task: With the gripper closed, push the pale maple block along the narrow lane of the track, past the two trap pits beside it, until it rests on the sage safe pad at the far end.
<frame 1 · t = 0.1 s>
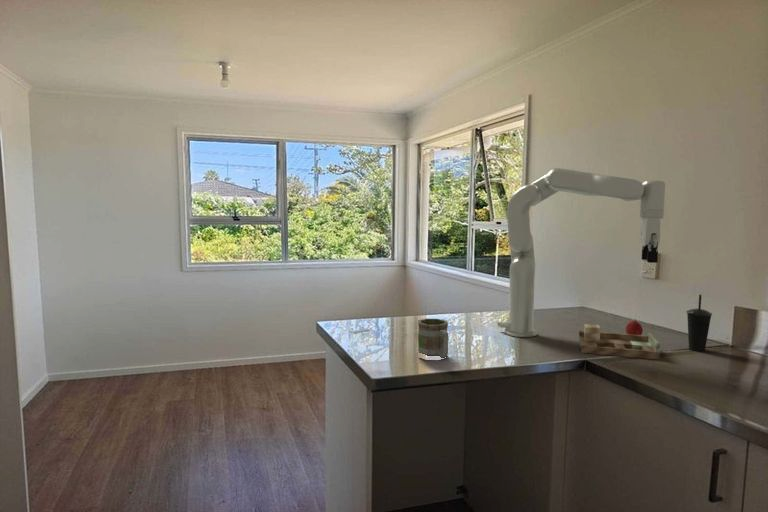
hand: (649, 261, 173), 31 cm above the countertop, tool pointing down, fingers open, 9 cm apart
block: (591, 339, 173), point 2 cm above the countertop, touching track
track: (616, 350, 168), on the countertop
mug: (435, 358, 159), on the countertop
drinking cup: (696, 350, 168), on the countertop
onion: (633, 339, 182), on the countertop
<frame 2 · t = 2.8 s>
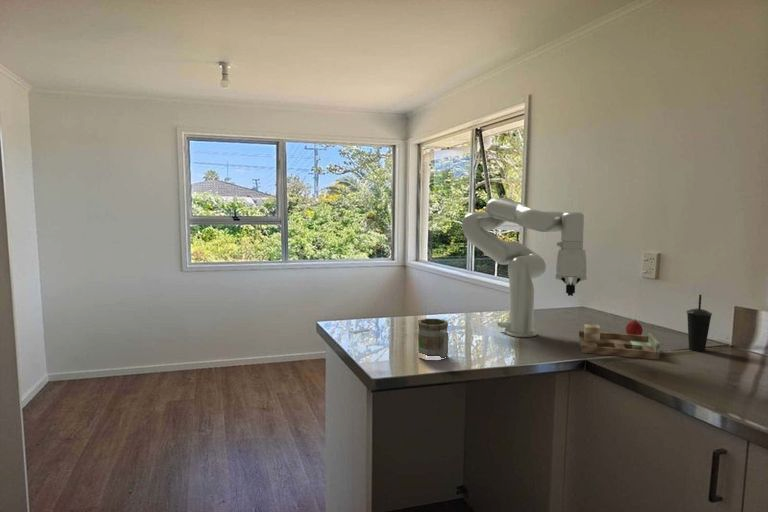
hand: (570, 295, 174), 19 cm above the countertop, tool pointing down, fingers closed
nothing on the countertop moved.
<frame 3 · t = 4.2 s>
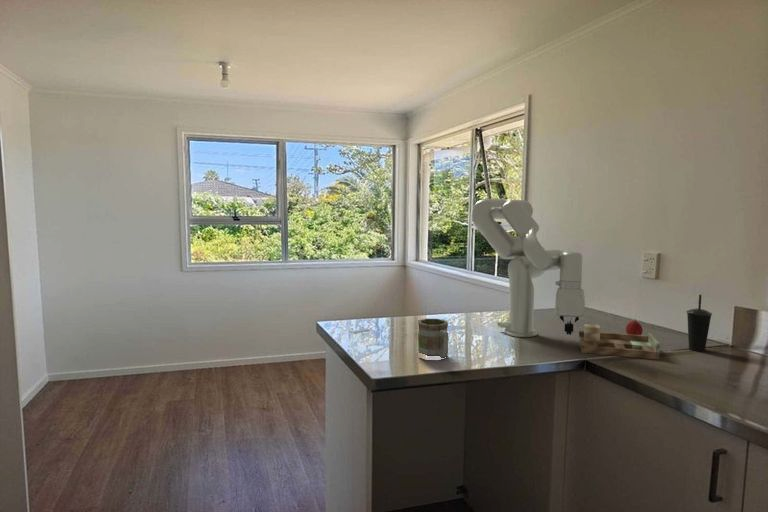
hand: (568, 333, 175), 4 cm above the countertop, tool pointing down, fingers closed
nothing on the countertop moved.
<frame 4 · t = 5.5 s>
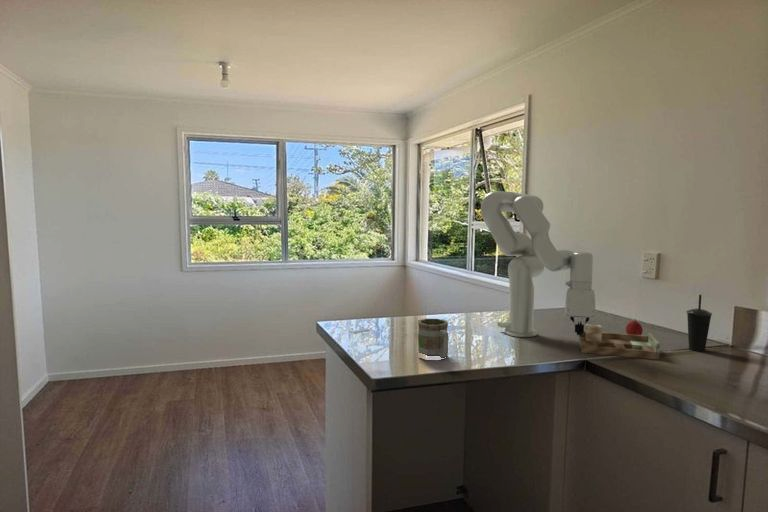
hand: (579, 334, 174), 4 cm above the countertop, tool pointing down, fingers closed
block: (593, 339, 173), point 3 cm above the countertop, touching gripper
everything else where it was.
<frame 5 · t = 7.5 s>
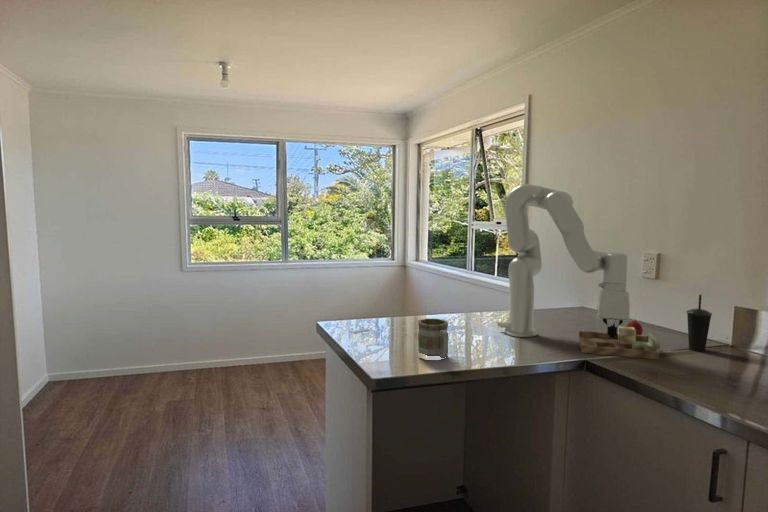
hand: (611, 336, 170), 4 cm above the countertop, tool pointing down, fingers closed
block: (626, 341, 169), point 3 cm above the countertop, touching gripper
everything else where it was.
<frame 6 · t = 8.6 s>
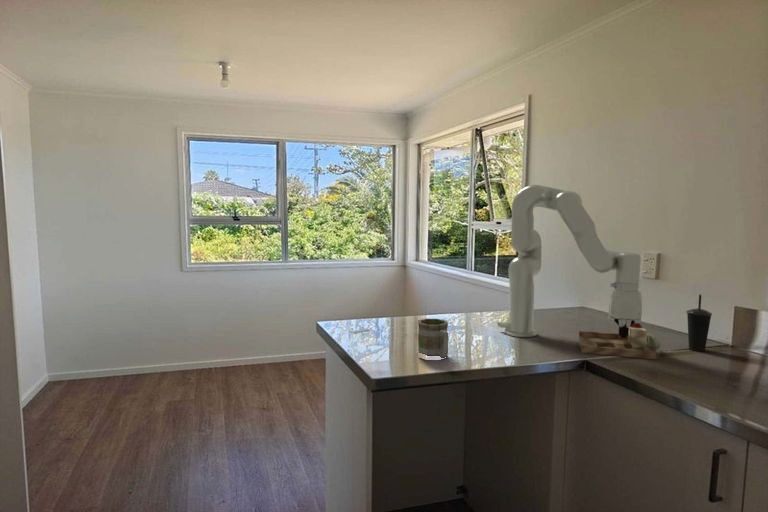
hand: (623, 337, 169), 4 cm above the countertop, tool pointing down, fingers closed
block: (637, 343, 168), point 2 cm above the countertop, touching gripper, track
everything else where it was.
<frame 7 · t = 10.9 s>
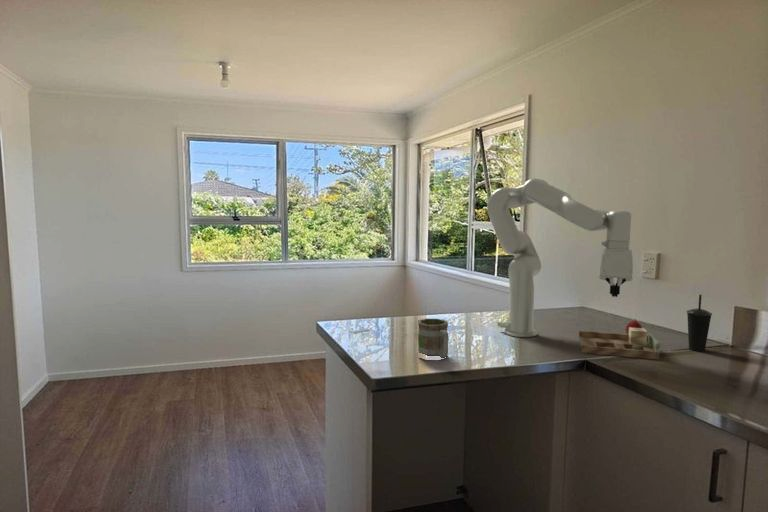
hand: (614, 296, 169), 19 cm above the countertop, tool pointing down, fingers closed
block: (637, 343, 168), point 2 cm above the countertop, touching track
everything else where it was.
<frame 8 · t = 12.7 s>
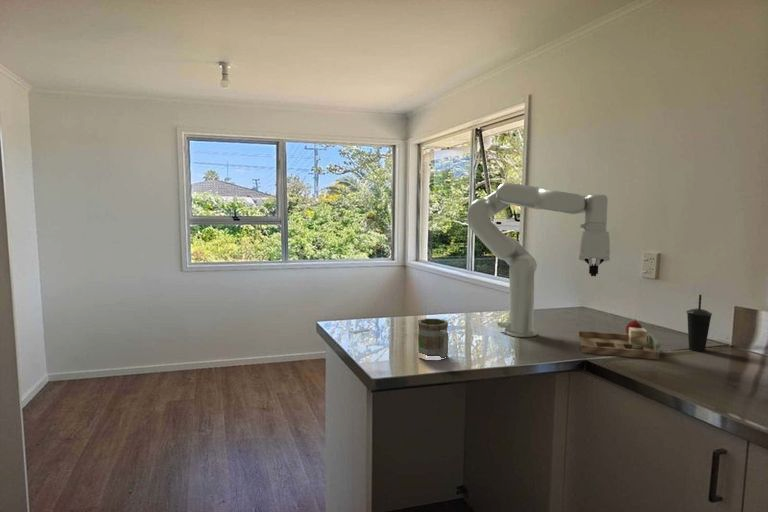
hand: (593, 275, 178), 25 cm above the countertop, tool pointing down, fingers closed
nothing on the countertop moved.
at the end: block 1.3 cm from the target spot on the track, point 2.5 cm above the track's base; block tilted 0°; block moved 15.0 cm from its start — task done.
